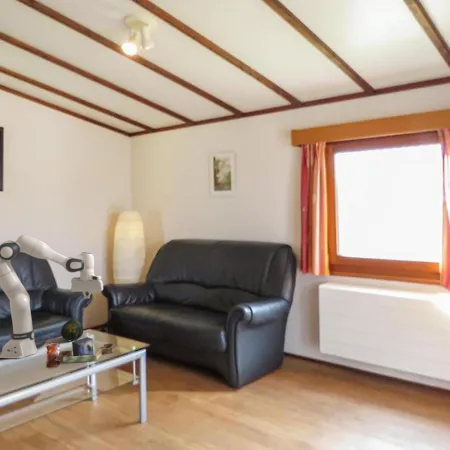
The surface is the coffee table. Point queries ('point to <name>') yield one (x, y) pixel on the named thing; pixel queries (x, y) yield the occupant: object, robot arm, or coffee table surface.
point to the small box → (83, 347)
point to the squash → (72, 329)
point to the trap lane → (107, 349)
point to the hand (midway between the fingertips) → (87, 298)
